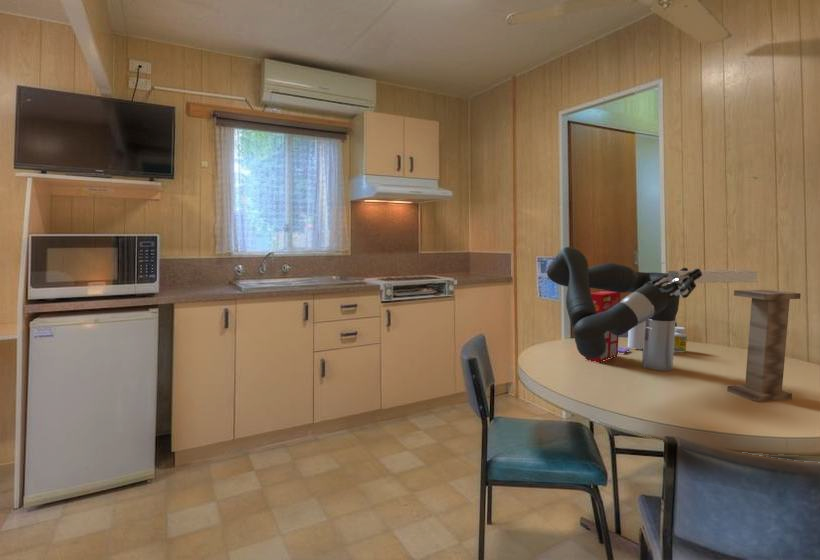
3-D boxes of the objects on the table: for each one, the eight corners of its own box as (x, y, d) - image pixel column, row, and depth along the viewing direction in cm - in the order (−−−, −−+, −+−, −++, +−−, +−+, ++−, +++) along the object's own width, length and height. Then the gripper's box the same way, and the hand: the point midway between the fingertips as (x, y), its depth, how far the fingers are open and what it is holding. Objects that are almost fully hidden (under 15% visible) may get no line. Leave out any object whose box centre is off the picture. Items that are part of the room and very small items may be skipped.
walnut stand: (756, 401, 121) (764, 294, 118) (727, 390, 130) (734, 290, 127) (791, 398, 123) (800, 293, 121) (760, 388, 132) (768, 289, 129)
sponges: (623, 355, 171) (623, 351, 171) (591, 349, 180) (591, 345, 180) (630, 352, 176) (630, 348, 176) (599, 347, 185) (599, 342, 185)
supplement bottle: (675, 348, 180) (677, 325, 180) (688, 351, 176) (690, 328, 175) (667, 350, 178) (668, 327, 177) (680, 353, 173) (681, 329, 172)
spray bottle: (644, 351, 176) (647, 289, 174) (626, 348, 181) (629, 288, 178) (647, 347, 182) (650, 288, 180) (629, 345, 186) (632, 287, 184)
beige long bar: (678, 283, 112) (678, 271, 111) (667, 282, 115) (668, 270, 115) (756, 282, 116) (757, 271, 116) (744, 281, 120) (745, 270, 119)
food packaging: (604, 353, 172) (606, 290, 170) (617, 356, 168) (620, 291, 166) (585, 360, 163) (588, 293, 161) (599, 363, 159) (602, 294, 157)
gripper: (628, 312, 120) (677, 280, 122) (667, 322, 106) (722, 286, 108) (617, 289, 118) (667, 257, 120) (655, 296, 105) (711, 260, 107)
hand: (693, 271), depth 114 cm, fingers closed on beige long bar, 3 cm apart
